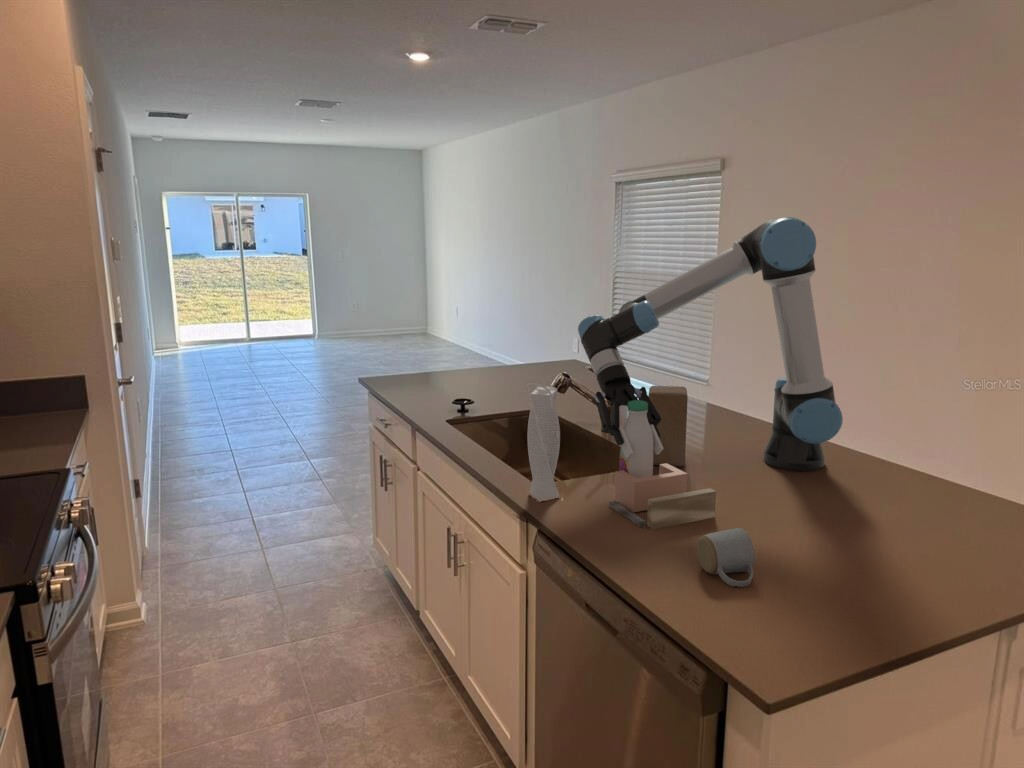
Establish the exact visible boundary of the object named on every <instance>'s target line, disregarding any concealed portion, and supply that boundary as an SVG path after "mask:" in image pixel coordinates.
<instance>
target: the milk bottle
mask: <svg viewBox="0 0 1024 768" xmlns="http://www.w3.org/2000/svg"><path fill="white" fill-rule="evenodd" d="M647 409H648V403H647V402H645V401H641V400H639V399H638V400H633V401H629V402H628V407H627V413H628V414H627V418H626V420H625V423H624V424H623V427H622V429H624V431H625V434H626V436H627V438H628V441H629V443H630V446H631V448H632V451H633V454H632V456H631V457H630V458H629V459H626V458H625V455H624V453H623V450H622V448H621V445H619V470H618V471H621V470H623V471H625V472H627V473H629V474H630V475H632V476H634V477H636V478H642V477H648V476H654V475H653V473H654V465H653V433H652V429H651V427H650V425H649V422H648V419H647V412H648V411H647Z"/></svg>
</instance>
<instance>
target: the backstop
mask: <svg viewBox="0 0 1024 768" xmlns="http://www.w3.org/2000/svg"><path fill="white" fill-rule="evenodd" d="M716 496H717V490H715V489H713V488H708V487H707V488H704V489H698V490H697V489H696V490H693V491H687V492H686V493H681V494H675V495H669V496H664V497H658V498H653V499H648V510H647V516H646V517H647V522H646V520H645V519H644V518H642V517H640V516H639V515H637V514H636V513H635V512H632V511H631V510H629V509H628V508H626V507H625V506H623V505H621V504H620V503H618V502H617V501H615V499H612V500H609V502H608V503H609V505H608V506H609V507H610V506H611V507H610V508H612V507H613V508H614V509H615V510H614V509H613V508H612V509H613V510H614V511H616V510H617V511H618V512H617V511H616V512H617V513H619V514H620V513H621V514H620V515H621V516H623V515H624V516H623V517H624V518H626V517H627V518H626V519H627V520H629V519H630V520H629V521H631V520H632V521H633V522H632V521H631V522H632V523H634V524H635V523H636V524H635V525H637V526H638V525H639V526H640V527H639V526H638V527H639V528H645V527H648V528H649V527H650V528H649V529H651V530H652V529H653V530H658V529H662V527H663V528H668V527H672V526H678V525H682V524H683V525H684V524H688V523H692V522H697V521H702V520H707V519H713V518H715V517H716V498H717V497H716ZM646 523H647V524H646ZM644 526H645V527H644ZM657 528H658V529H657Z"/></svg>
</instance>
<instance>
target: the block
mask: <svg viewBox="0 0 1024 768" xmlns="http://www.w3.org/2000/svg"><path fill="white" fill-rule="evenodd" d="M647 395H648V397H649V399H650V400H651V402H652V404H653V405H654V407H655V409H656V410H657V412H658V414H659V416H660V417H661V421H660V422H659V424H658V425H657V429H658V431H659V433H660V438H659V439H660V441H661V444H662V446H663V448H664V449H663V450H662V451H661V452H660V453H659V454H657V455H656V453H655V451H654V449H653V466H659V465H660V464H665V463H667V464H669V465H671V466H673V467H684V465H686V447H687V445H686V444H687V423H688V422H687V420H688V400H689V399H688V398H689V397H688V390H687V388H686V387H685V386H680V385H679V386H678V385H677V386H676V385H675V386H674V385H673V386H672V385H670V386H669V385H651V386H649V389H648V394H647Z"/></svg>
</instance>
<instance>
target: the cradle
mask: <svg viewBox="0 0 1024 768" xmlns="http://www.w3.org/2000/svg"><path fill="white" fill-rule="evenodd" d="M658 466H659V467H658V468H659V470H658V473H659V474H656V475H653V476H648V477H642V478H636V477H634V476H632V475H630V474H629V473H627V472H625V471H623V470H621V471H619V470H617V471H615V478H614V486H615V487H614V501H616V502H617V503H619V504H620V505H622V506H624V507H625V508H627V509H628V510H630V511H631V512H633V513H638V512H642V511H648V499H653V498H658V497H664V496H669V495H675V494H681V493H686V492H688V473H687V472H685V471H684V470H681V469H679V468H677V467H676V466H671V465H669V464H667V463H665V464H660V465H658Z"/></svg>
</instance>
